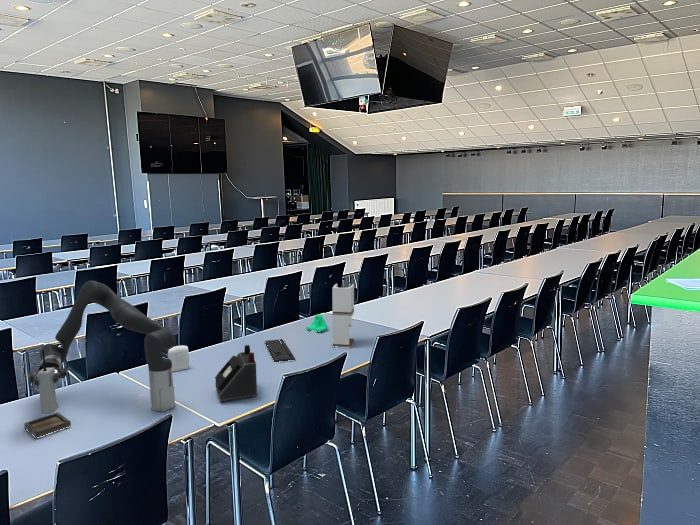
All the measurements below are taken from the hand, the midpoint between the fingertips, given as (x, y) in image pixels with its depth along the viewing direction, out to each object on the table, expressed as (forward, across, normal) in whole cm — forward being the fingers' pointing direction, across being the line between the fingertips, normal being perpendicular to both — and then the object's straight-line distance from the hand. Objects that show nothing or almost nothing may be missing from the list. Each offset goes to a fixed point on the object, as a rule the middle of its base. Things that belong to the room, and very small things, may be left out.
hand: (46, 381), depth 190 cm
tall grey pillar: (-43, +144, +20) cm, 152 cm away
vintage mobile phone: (-3, 0, +13) cm, 13 cm away
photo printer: (-44, +53, +20) cm, 72 cm away
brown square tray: (-2, -1, +20) cm, 20 cm away
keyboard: (-48, +107, +21) cm, 119 cm away
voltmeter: (-2, +72, +20) cm, 74 cm away
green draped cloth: (-75, +141, +21) cm, 161 cm away
